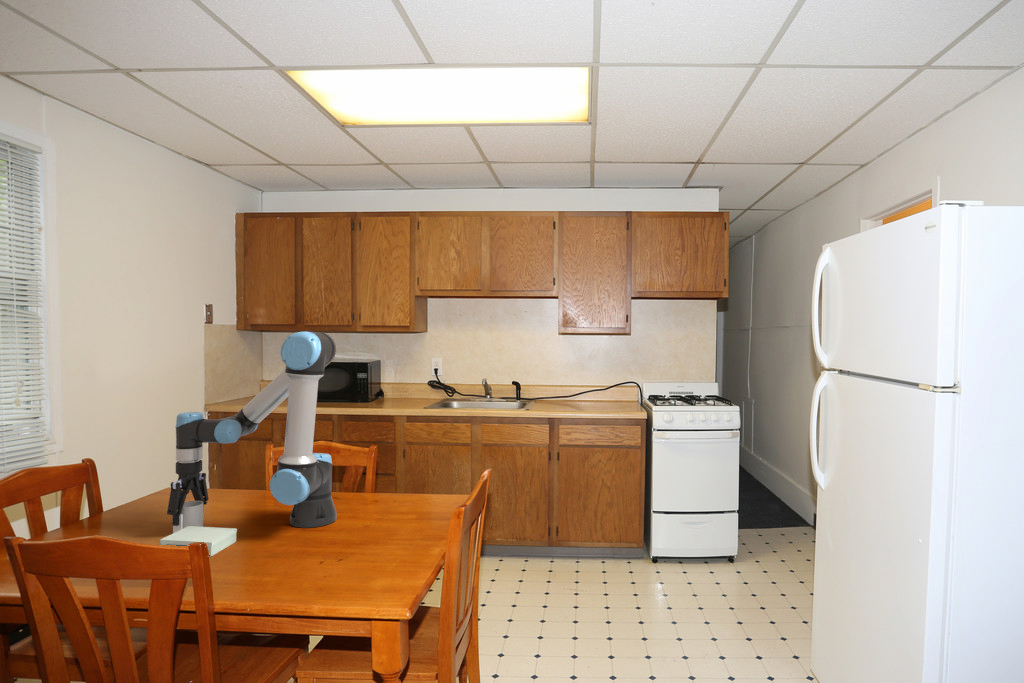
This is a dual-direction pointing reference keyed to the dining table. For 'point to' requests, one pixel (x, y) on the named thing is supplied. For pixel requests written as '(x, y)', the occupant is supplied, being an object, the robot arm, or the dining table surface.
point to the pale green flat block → (203, 537)
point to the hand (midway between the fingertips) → (188, 529)
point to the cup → (192, 513)
